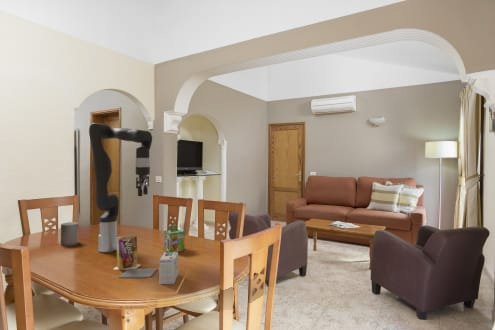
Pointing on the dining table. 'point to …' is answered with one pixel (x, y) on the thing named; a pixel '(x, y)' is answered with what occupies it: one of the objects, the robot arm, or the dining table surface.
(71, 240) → the pillar candle
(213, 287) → the dining table surface
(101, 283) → the dining table surface
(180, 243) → the chalk box
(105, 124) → the robot arm
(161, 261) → the light bulb box
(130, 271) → the slate coaster
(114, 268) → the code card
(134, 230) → the dining table surface
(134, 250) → the candy box
